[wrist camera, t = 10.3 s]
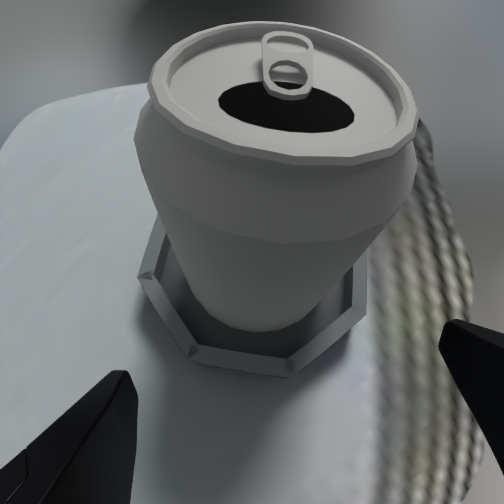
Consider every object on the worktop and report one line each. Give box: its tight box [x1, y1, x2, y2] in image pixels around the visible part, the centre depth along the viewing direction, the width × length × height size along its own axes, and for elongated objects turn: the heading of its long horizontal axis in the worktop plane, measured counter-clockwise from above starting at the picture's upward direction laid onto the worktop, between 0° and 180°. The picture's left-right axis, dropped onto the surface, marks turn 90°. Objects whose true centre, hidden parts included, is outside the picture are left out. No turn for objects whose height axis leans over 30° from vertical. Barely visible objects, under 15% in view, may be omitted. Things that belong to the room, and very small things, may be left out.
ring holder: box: [137, 214, 367, 378], centre depth 16 cm, size 12×12×2 cm
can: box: [134, 21, 419, 333], centre depth 11 cm, size 8×8×12 cm
